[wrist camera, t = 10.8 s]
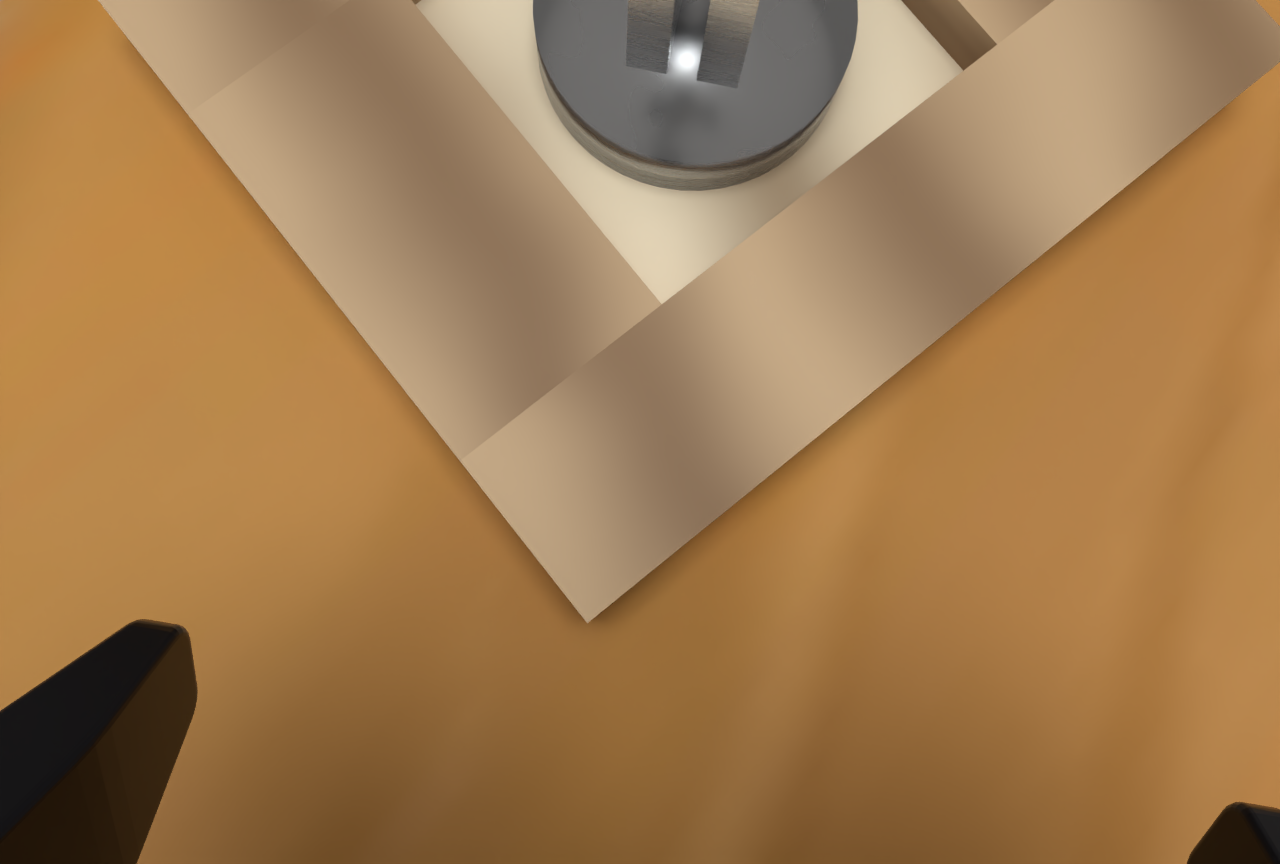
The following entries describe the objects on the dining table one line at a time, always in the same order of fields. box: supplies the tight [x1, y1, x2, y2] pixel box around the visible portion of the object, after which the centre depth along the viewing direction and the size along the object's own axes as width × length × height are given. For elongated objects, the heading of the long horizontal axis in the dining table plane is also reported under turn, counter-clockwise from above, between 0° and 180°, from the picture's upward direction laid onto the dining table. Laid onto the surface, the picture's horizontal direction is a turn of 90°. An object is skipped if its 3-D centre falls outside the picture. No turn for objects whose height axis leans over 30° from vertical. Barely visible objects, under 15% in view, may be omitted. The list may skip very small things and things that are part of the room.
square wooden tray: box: [98, 0, 1280, 623], centre depth 23 cm, size 18×16×2 cm
